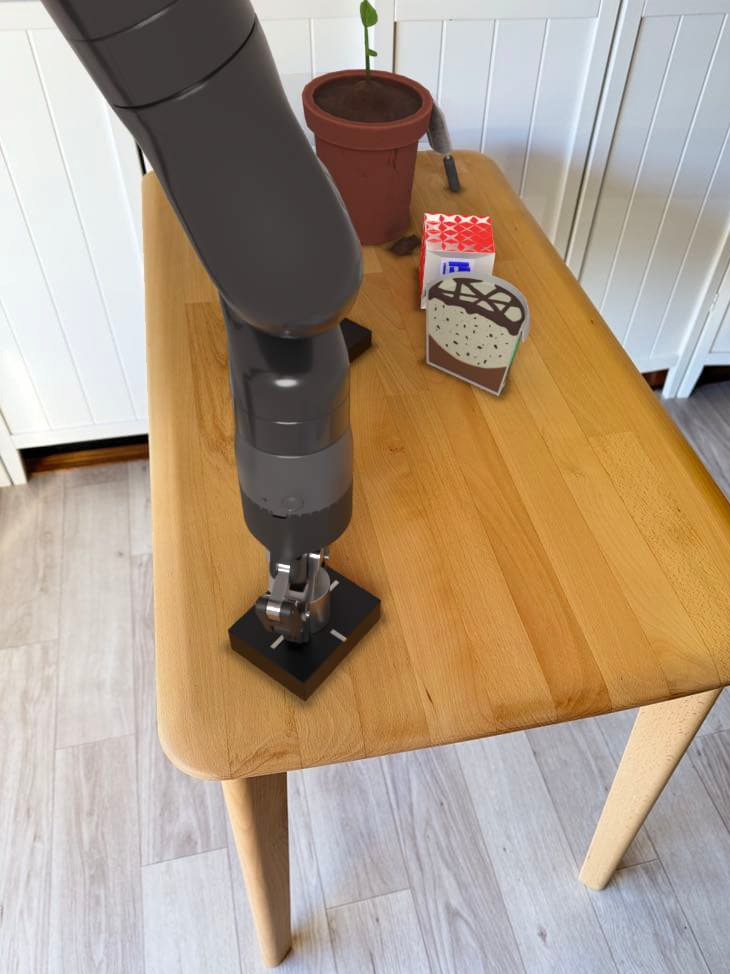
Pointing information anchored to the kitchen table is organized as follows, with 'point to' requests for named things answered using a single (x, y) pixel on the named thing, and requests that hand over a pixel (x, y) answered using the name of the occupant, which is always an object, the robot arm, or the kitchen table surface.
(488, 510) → the kitchen table surface
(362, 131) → the potted plant
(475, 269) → the red white box
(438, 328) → the food container
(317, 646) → the dial panel
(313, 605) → the dial
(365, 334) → the black button box
